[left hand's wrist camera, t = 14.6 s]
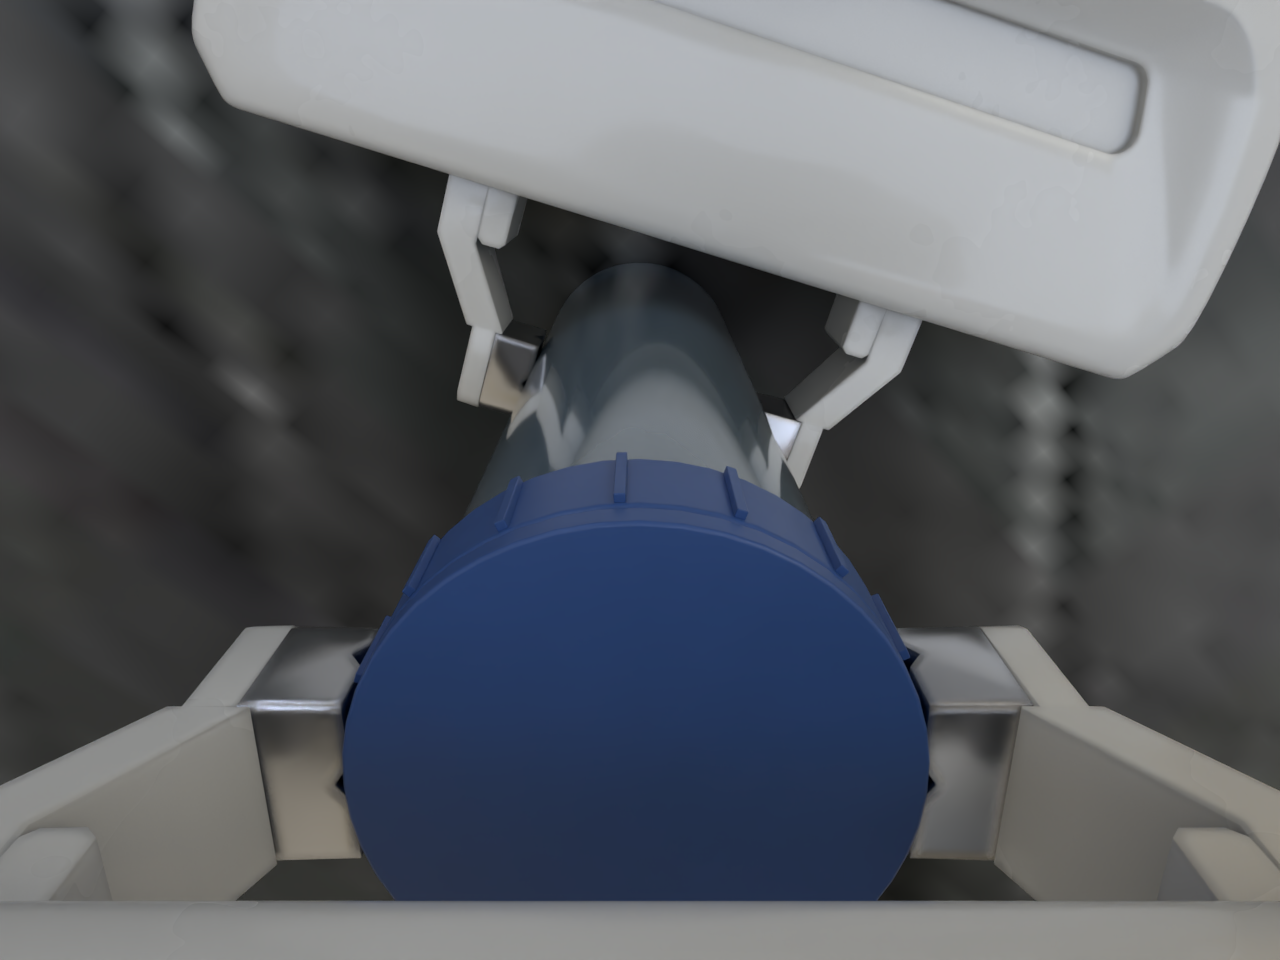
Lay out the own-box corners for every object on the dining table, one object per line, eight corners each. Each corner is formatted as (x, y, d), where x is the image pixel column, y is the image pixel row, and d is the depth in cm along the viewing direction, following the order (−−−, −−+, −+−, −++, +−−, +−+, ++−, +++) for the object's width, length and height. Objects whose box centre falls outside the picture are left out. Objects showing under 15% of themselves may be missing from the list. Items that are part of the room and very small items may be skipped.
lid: (842, 394, 9) (885, 450, 7) (921, 835, 11) (968, 953, 9) (307, 522, 9) (241, 599, 8) (474, 923, 11) (446, 1048, 10)
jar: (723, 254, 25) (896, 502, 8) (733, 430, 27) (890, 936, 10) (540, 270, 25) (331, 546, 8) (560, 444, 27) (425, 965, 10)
